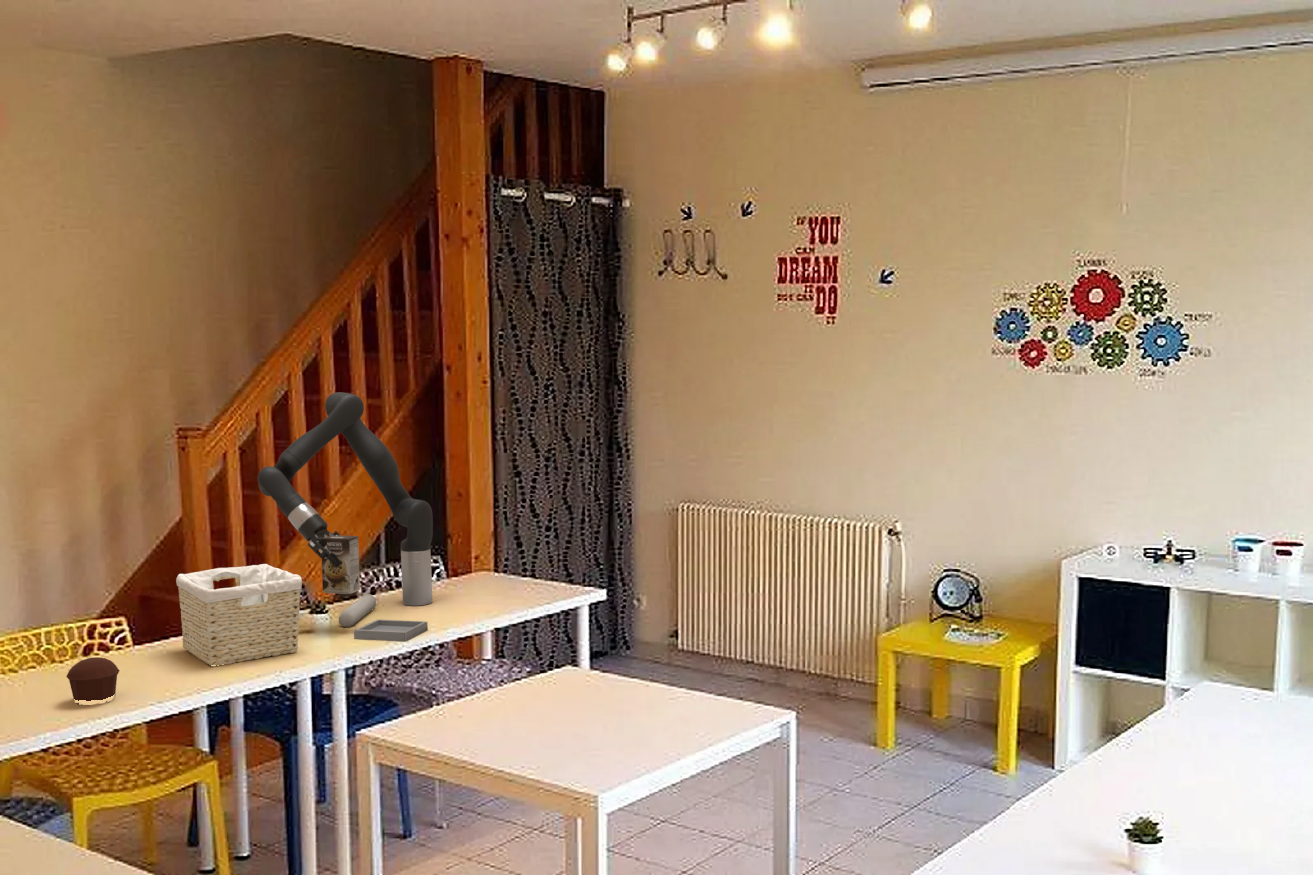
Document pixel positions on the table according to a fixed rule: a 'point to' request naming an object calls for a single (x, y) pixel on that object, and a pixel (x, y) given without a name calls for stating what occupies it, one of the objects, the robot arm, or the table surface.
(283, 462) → the robot arm
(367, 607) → the tube
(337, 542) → the coffee box
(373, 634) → the dish
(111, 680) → the muffin
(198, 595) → the basket
